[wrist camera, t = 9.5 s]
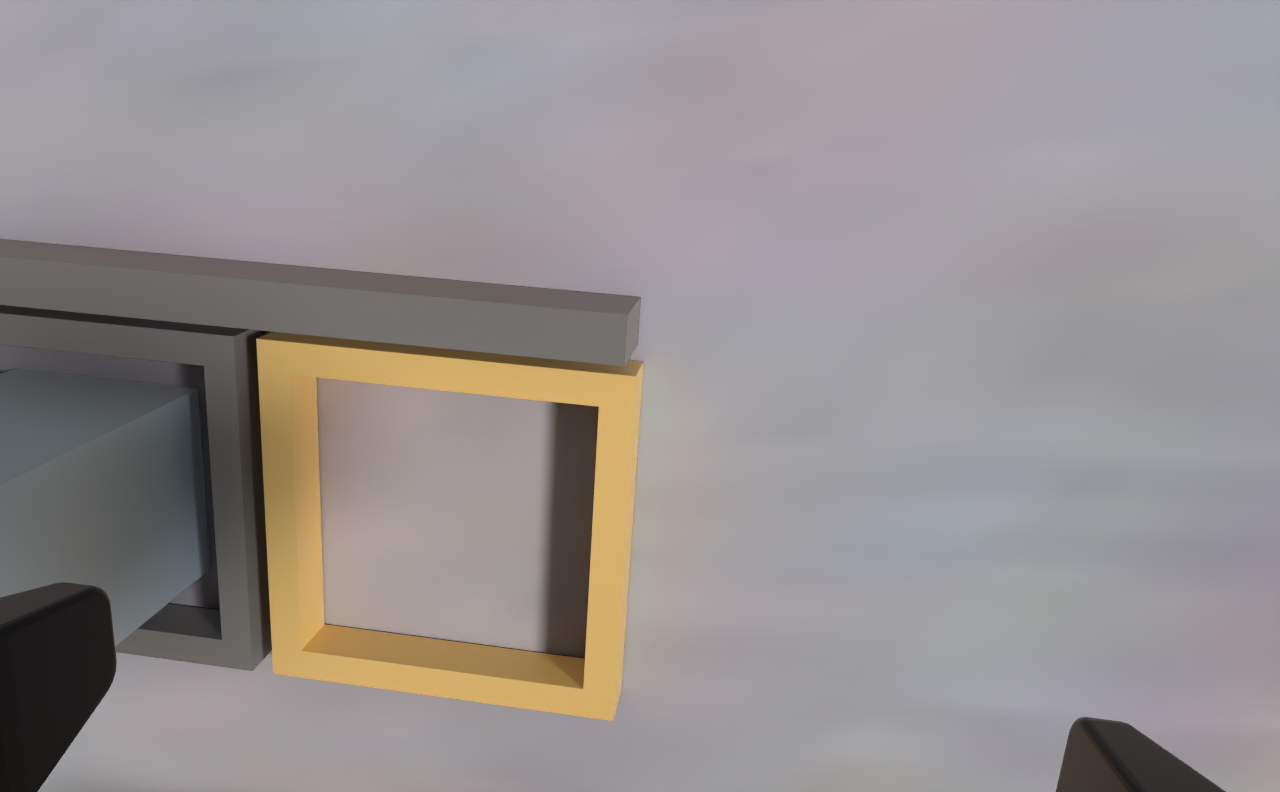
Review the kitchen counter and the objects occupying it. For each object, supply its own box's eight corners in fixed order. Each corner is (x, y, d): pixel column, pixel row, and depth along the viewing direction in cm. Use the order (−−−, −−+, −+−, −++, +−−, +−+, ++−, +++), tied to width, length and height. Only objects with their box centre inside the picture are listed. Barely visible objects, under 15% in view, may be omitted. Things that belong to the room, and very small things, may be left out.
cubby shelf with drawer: (621, 690, 23) (608, 737, 21) (-22, 603, 25) (-82, 640, 23) (648, 297, 20) (635, 315, 18) (-77, 232, 22) (-149, 243, 20)
